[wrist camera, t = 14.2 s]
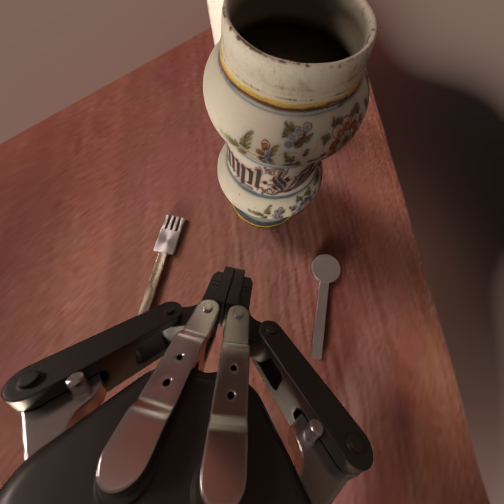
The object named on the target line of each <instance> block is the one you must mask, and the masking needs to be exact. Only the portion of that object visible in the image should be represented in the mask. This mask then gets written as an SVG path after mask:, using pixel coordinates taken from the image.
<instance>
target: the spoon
mask: <svg viewBox="0 0 504 504" xmlns="http://www.w3.org/2000/svg"><path fill="white" fill-rule="evenodd" d="M310 269H311V273H312V275H313V277H314V278H315V279H316V280H317V281H318V289H317V298H316V307H315V315H314V324H313V333H312V342H311V351H310V357H311V358H314V359H319V360H321V359H322V349H323V339H324V329H325V319H326V309H327V299H328V289H329V283H331V282H334V281H335V280H336V279H337V278H338V277H339V275H340V265H339V262H338V261H337V260H336V259H335V258H334V257H333V256H331V255H328V254H321V255H319V256H317V257H315V258H314V259H313V260H312V262H311V266H310Z"/></svg>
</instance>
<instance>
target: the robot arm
mask: <svg viewBox="0 0 504 504" xmlns="http://www.w3.org/2000/svg"><path fill="white" fill-rule="evenodd" d="M244 274H245V270H242V269H237V268H236V270H235V268H232V267H227V266H226V268H225V270H224V273H223V272H217V273H215V274H214V275H213V277H212V279H211V281H210V284H209V286H208V288H207V290H206V292H205V295H204V297H203V299H202V301H201V302H199V303H198V304H197V305H195V306H191V307H181V305H180V304H179V303H177V302H166V303H164V304H161V305H159V306H157V307H155V308H153V309H151V310H148V311H146V312H144V313H142V314H140V315H138V316H135V317H133V318H131V319H129V320H127V321H125V322H123V323H120V324H118V325H116V326H114V327H112V328H110V329H107V330H105V331H103V332H101V333H99V334H97V335H94V336H92V337H90V338H88V339H86V340H84V341H81V342H79V343H77V344H75V345H73V346H71V347H68V348H66V349H64V350H62V351H60V352H58V353H56V354H53V355H51V356H49V357H47V358H45V359H43V360H40V361H38V362H36V363H34V364H32V365H30V366H27V367H26V368H24V369H22V370H20V371H19V372H17V373H16V374H15V375H14V376H12V377H11V378H10V379H9V380H8V381H7V383H6V384H5V385H4V387H3V389H2V392H1V397H2V399H3V400H4V401H5V402H7V403H8V404H9V405H10V406H11V407H13V408H14V409H15V410H16V411H17V412H19V413H20V414H21V427H22V442H23V456H24V463H23V464H22V465H21V466H20V467H19V468H18V469H17V470H16V471H15V472H14V473H13V474H12V475H11V477H10V478H9V479H8V480H7V482H6V483H5V484H4V486H3V487H2V488H1V490H0V504H332V502H333V501H334V499H335V498H336V496H337V495H338V494H339V492H340V491H341V489H342V488H343V486H344V485H345V483H346V482H347V481H348V480H350V479H352V478H354V477H356V476H358V475H359V474H360V473H361V472H363V471H365V470H367V469H369V468H370V467H371V465H372V463H373V451H372V447H371V445H370V442H369V440H368V438H367V436H366V435H365V433H364V432H363V431H362V429H361V428H360V427H359V426H358V424H357V423H356V422H355V421H354V419H353V418H352V417H351V416H350V414H349V413H348V412H347V411H346V409H345V408H344V407H343V405H342V404H341V403H340V402H339V400H338V399H337V398H336V397H335V395H334V394H333V393H332V392H331V390H330V389H329V388H328V387H327V385H326V384H325V383H324V382H323V380H322V379H321V378H320V377H319V375H318V374H317V373H316V371H315V370H314V369H313V368H312V366H311V365H310V364H309V363H308V361H307V360H306V359H305V358H304V356H303V355H302V354H301V353H300V351H299V350H298V349H297V348H296V346H295V345H294V344H293V342H292V341H291V340H290V339H289V337H288V336H287V335H286V334H285V332H284V331H283V330H282V329H281V327H280V326H279V325H278V324H277V323H275V322H273V321H264V322H262V323H260V322H259V321H257V320H255V319H254V318H253V317H252V316H251V315H250V313H249V305H250V298H251V291H252V284H253V283H252V280H251V278H248V277H244ZM222 323H223V326H222ZM218 326H222V327H224V332H223V342H222V347H221V353H220V359H219V365H218V371H217V372H213V373H204V372H203V370H204V367H205V363H206V361H207V358H208V356H209V353H210V350H211V348H212V345H213V343H214V340H215V337H216V331H217V328H218ZM162 356H163V357H162ZM160 357H162V359H161V360H160V362H159V364H158V365H157V367H156V369H154V370H152V371H150V372H148V373H146V374H144V375H143V376H141V377H140V378H138V379H137V380H136V381H134V382H133V383H131V384H130V385H129V386H127V387H126V388H124V389H123V390H122V391H120V392H119V393H117V394H116V395H115V396H113V397H112V398H110V399H109V400H108V401H106V402H105V403H103V404H102V405H101V403H102V402H103V401H104V399H105V397H106V393H107V392H108V391H110V390H111V389H113V388H114V387H116V386H117V385H119V384H120V383H122V382H123V381H125V380H126V379H128V378H129V377H131V376H133V375H134V374H136V373H137V372H139V371H140V370H142V369H143V368H145V367H146V366H148V365H149V364H151V363H153V362H154V361H156V360H157V359H159V358H160ZM250 357H251V358H252V361H253V363H254V364H255V366H256V368H257V370H258V371H259V373H260V375H261V377H262V378H263V380H264V382H265V383H266V385H267V387H268V389H269V390H270V392H271V394H272V396H273V397H274V399H275V401H276V402H277V404H278V406H279V408H280V409H281V411H282V413H283V415H284V416H285V418H286V420H287V421H288V423H289V425H290V427H289V430H288V444H289V447H290V450H291V452H292V455H293V458H294V465H293V463H292V461H291V459H290V456H289V454H288V452H287V450H286V448H285V446H284V444H283V442H282V440H281V438H280V436H279V434H278V432H277V430H276V428H275V426H274V424H273V422H272V420H271V418H270V416H269V414H268V412H267V410H266V408H265V406H264V404H263V402H262V400H261V398H260V396H259V395H258V393H257V392H256V391H255V390H254V389H253V388H252V387H251V386H250V385H249V358H250ZM294 466H295V467H294Z"/></svg>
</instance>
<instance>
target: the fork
mask: <svg viewBox="0 0 504 504" xmlns="http://www.w3.org/2000/svg"><path fill="white" fill-rule="evenodd" d="M170 217H171V219H170ZM175 218H176V217H175V216H170V215H166V218H165V221H164V224H163V226H162V228H161V230H160V233H159V236H158V239H157V242H156V244H155V247H154V251H155V252H159V254H158V257H157V259H156V262H155V265H154V268H153V271H152V274H151V277H150V280H149V283H148V286H147V289H146V292H145V295H144V298H143V301H142V304H141V306H140V309H139V312H138V315H140V314H142V313H144V312H146V311H148V310H151V308H152V305H153V302H154V299H155V296H156V292H157V289H158V286H159V283H160V280H161V277H162V274H163V271H164V268H165V265H166V262H167V259H168V256H169V255H175V253H176V249H177V246H178V243H179V240H180V237H181V234H182V229H183V226H184V223H185V220H186V219H185V218H182V219H181V218H180V217H177V218H176V221H175ZM180 219H181V222H180ZM169 220H170V222H169ZM174 221H175V224H174ZM179 222H180V225H179ZM168 223H169V225H168ZM173 224H174V227H173ZM178 225H179V228H178ZM167 226H168V228H167ZM172 227H173V230H172ZM177 228H178V231H177ZM138 315H137V316H138Z"/></svg>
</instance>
